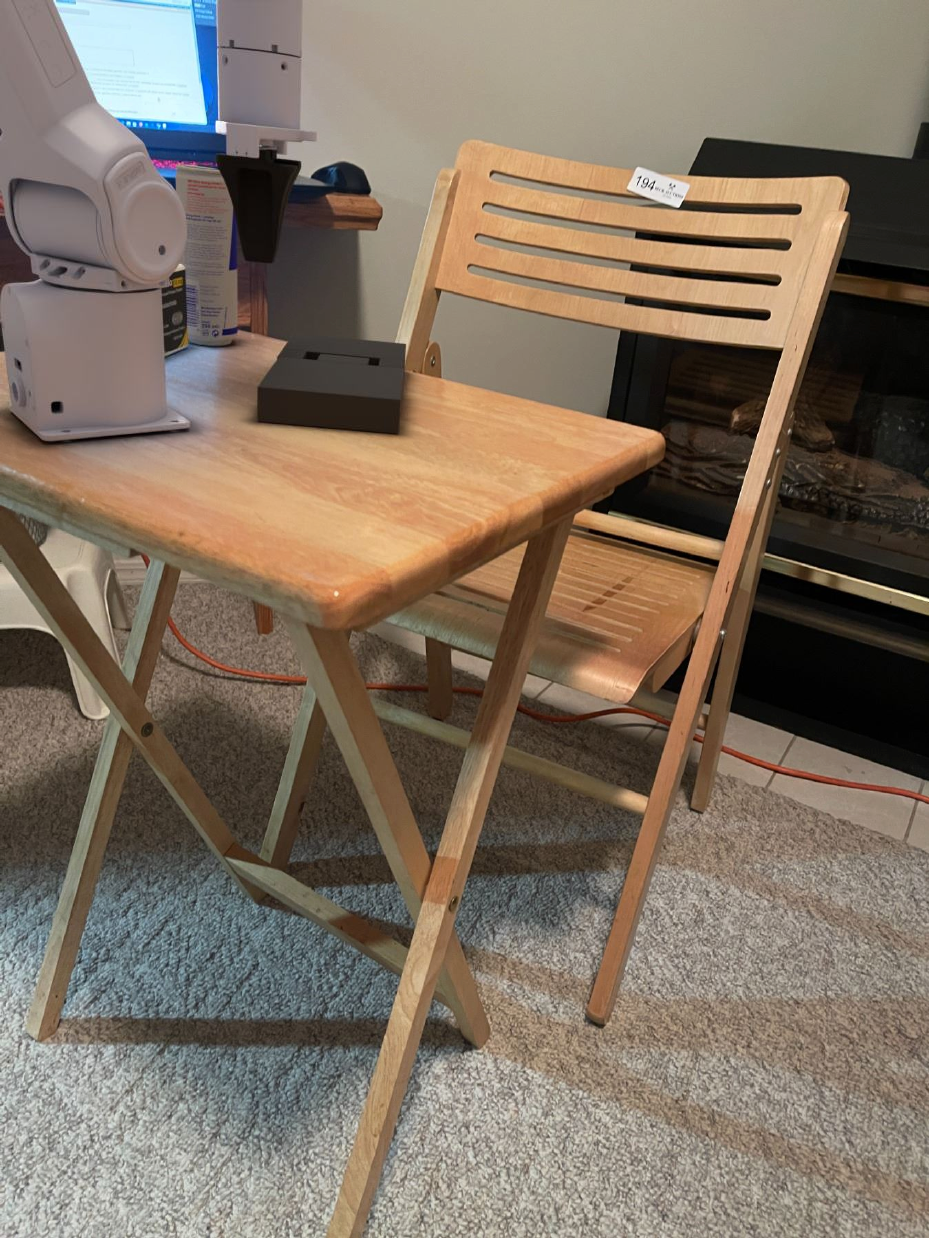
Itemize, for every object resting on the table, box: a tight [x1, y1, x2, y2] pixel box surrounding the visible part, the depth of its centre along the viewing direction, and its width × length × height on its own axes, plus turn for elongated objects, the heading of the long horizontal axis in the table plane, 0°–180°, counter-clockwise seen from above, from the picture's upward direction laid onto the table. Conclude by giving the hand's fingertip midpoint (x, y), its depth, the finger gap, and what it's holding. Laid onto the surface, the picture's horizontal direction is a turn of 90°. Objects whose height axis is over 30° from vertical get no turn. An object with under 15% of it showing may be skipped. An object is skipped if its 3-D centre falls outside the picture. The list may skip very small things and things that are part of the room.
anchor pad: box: [276, 332, 407, 370], centre depth 79 cm, size 10×10×2 cm
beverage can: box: [175, 163, 239, 347], centre depth 85 cm, size 5×5×15 cm
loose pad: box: [256, 354, 406, 435], centre depth 72 cm, size 12×10×2 cm
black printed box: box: [161, 264, 189, 358], centre depth 79 cm, size 7×7×12 cm
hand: (259, 261), depth 71 cm, fingers closed
